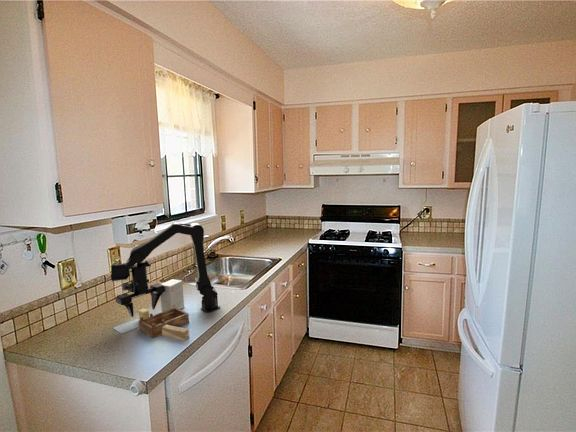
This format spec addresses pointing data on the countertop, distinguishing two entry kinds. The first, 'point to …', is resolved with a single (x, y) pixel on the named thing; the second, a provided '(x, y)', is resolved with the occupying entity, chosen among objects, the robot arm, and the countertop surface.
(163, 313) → the brown frame
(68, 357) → the countertop surface
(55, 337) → the countertop surface
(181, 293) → the small box
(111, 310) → the countertop surface
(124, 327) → the lid
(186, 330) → the tan block
